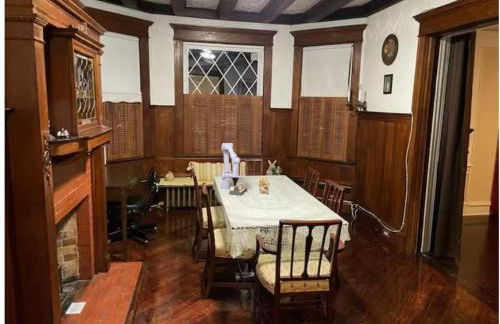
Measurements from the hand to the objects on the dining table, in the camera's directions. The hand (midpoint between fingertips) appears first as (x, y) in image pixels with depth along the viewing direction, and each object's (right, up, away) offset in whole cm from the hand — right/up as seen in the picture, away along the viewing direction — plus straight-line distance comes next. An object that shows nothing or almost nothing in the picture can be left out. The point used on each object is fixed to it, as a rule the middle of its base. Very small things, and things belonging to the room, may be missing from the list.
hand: (235, 185), depth 336 cm
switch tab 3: (+6, -2, +13) cm, 15 cm away
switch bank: (+3, -7, +8) cm, 10 cm away
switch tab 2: (+4, -3, +7) cm, 9 cm away
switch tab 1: (-2, -4, +1) cm, 5 cm away
